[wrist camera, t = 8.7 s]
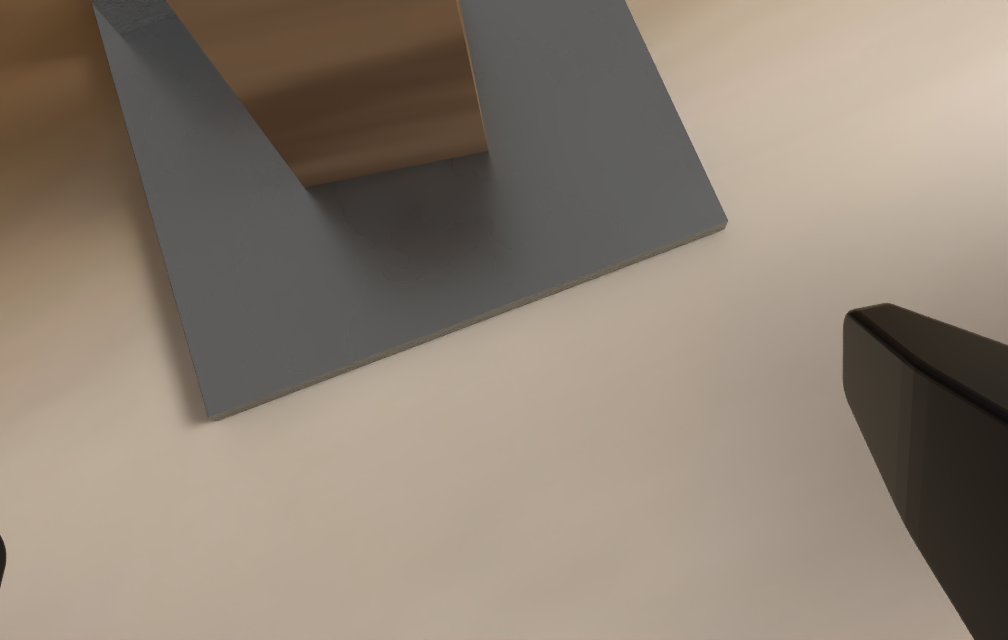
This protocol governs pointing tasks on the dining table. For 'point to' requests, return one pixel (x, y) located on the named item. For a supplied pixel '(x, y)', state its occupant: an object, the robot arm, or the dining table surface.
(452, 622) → the dining table surface
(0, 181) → the dining table surface
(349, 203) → the keeper
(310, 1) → the link block
